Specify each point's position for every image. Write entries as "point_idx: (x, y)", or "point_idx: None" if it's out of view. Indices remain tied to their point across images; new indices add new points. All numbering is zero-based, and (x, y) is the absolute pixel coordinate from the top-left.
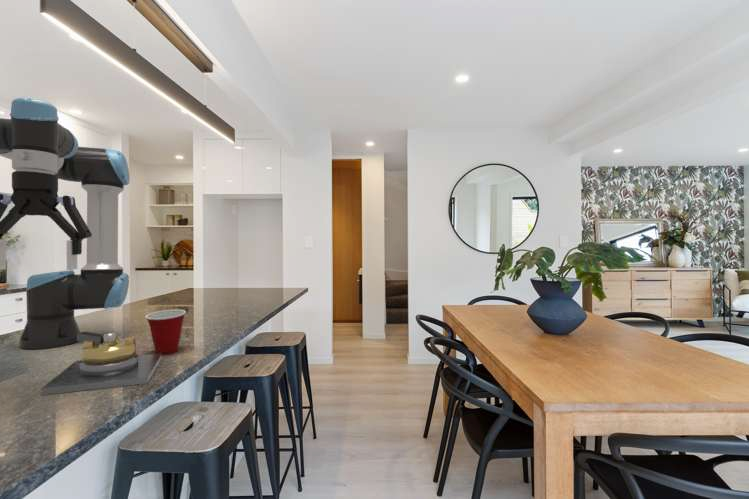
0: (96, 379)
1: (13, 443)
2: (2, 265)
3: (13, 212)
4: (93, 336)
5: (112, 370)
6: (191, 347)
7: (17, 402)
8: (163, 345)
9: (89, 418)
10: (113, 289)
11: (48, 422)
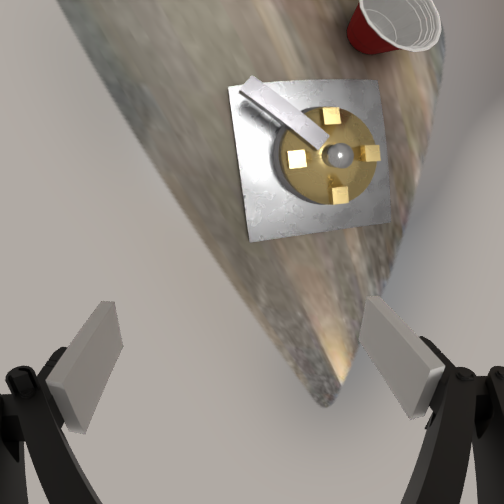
0: (319, 216)
1: (295, 366)
2: (113, 329)
3: None
4: (295, 131)
5: None
6: None
7: (230, 261)
8: (375, 52)
9: (346, 325)
10: None
11: (306, 329)
